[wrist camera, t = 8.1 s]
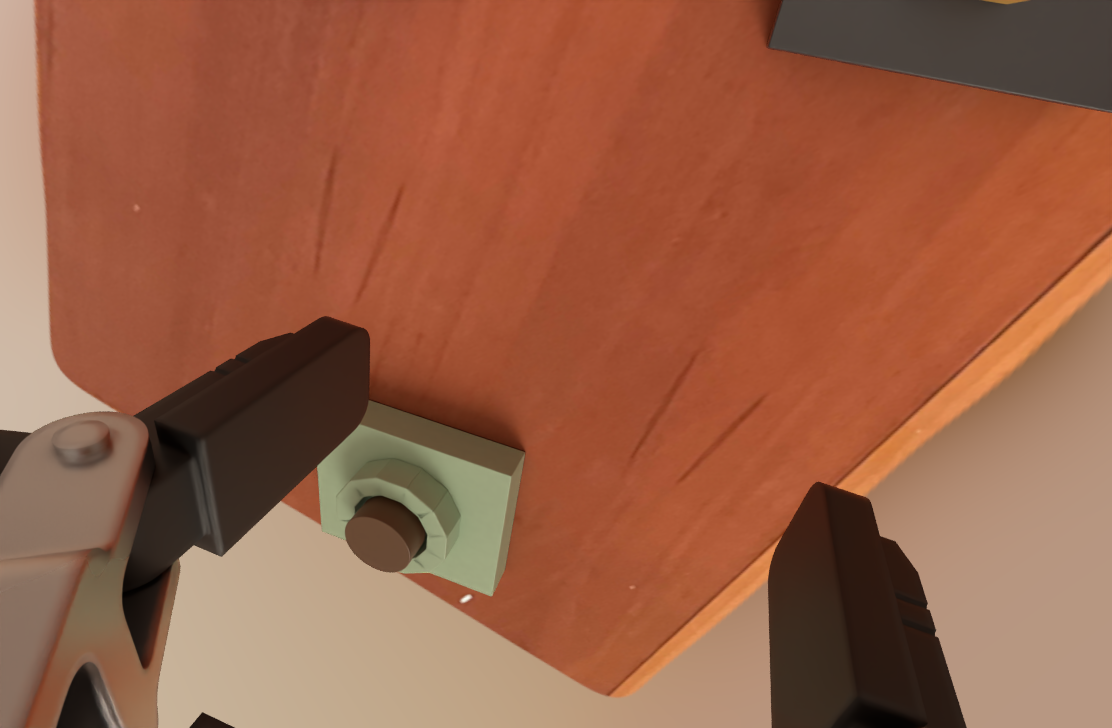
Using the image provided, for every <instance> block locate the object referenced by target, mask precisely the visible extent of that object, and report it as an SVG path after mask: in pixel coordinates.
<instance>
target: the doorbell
mask: <svg viewBox="0 0 1112 728" xmlns="http://www.w3.org/2000/svg"><path fill="white" fill-rule="evenodd" d="M524 458H525V452H523V451H520V450H517V449H514V448H511V447H508V446H505V445H502V444H499V443H496V442H493V441H490V440H487V439H484V438H481V437H478V436H475V435H472V434H469V433H466V432H463V431H460V430H457V429H454V428H451V427H448V426H445V425H442V424H439V423H436V422H433V421H430V420H427V419H424V418H422V417H419V416H416V415H413V414H410V413H407V412H404V411H401V410H398V409H395V408H392V407H389V406H386V405H383V404H380V403H377V402H374V401H371V400H369V402H368V406H367V410H366V413H365V415H364V417H363V419H362V421H361V423H360V424H359V426H358V427H357V428H356V429H355V430H354V431H353V432H352V433H351V434H350V435H349V436H348V437H347V438H346V439H345V440H344V441H343V442H342V443H341V444H340V445H339V446H338V447H337V448H336V449H334V450H333V451H332V452H331V453H330V454H329V455H328V456H327V457H326V458H325V459H324V460H323V461H322V462H321V463H320V464H319V465H318V466H317V469H318V483H319V497H320V511H321V526H322V531H323V532H326V533H328V534H331V535H333V536H336V537H338V538H341V539H343V540H346V537H345V527H346V525H347V523H348V522H349V520H350V519H351V518H352V517H353V516H354V515H355V514H356V512H357V511H358V510H359V509H360V508H361V507H362V505H363V504H364V503H365V502H366V501H367V500H368V499H370V498H372V497H374V496H384V497H387V498H390V499H392V500H395V501H398V502H401V503H402V504H403V505H405V506H406V507H407V508H408V509H409V510H410V511H412V512H413V513H414V514H415V515H416V516H418V518H419V520H420V521H421V523H422V525H423V527H424V529H425V540H424V542H423V544H422V545H421V547H420V548H419V550H418V551H417V553H416V554H415V556H414V557H413V559H412V560H411V562H410V563H409V565H408V566H407V567H406V568H405V569H403V570H401V571H399V572H401V573H432V574H434V575H437V576H440V577H442V578H445V579H447V580H450V581H453V582H455V583H458V584H460V585H463V586H466V587H468V588H471V589H473V590H476V591H478V592H481V593H484V594H486V595H489V596H492V595H493V593H494V591H495V589H496V587H497V585H498V583H499V581H500V579H501V577H502V575H503V573H504V571H505V566H506V560H507V554H508V549H509V543H510V537H511V532H512V526H513V520H514V514H515V509H516V503H517V497H518V492H519V486H520V480H521V475H522V469H523V463H524Z"/></svg>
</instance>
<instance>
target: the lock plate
mask: <svg viewBox="0 0 1112 728" xmlns="http://www.w3.org/2000/svg"><path fill="white" fill-rule="evenodd" d="M767 48H768V49H773V50H779V51H784V52H789V53H795V54H800V55H805V56H810V57H816V58H821V59H826V60H831V61H837V62H842V63H847V64H852V65H858V66H863V67H868V68H874V69H879V70H884V71H889V72H895V73H900V74H905V75H910V76H916V77H921V78H926V79H931V80H937V81H942V82H947V83H953V84H958V85H963V86H968V87H974V88H979V89H984V90H989V91H995V92H1000V93H1005V94H1010V95H1016V96H1021V97H1026V98H1032V99H1037V100H1042V101H1047V102H1053V103H1058V104H1063V105H1068V106H1074V107H1079V108H1085V109H1091V110H1097V111H1102V112H1108V113H1112V0H1028V1H1022V2H1017V3H1012V4H1001V3H995V2H989V1H983V0H781V1H780V5H779V8H778V11H777V14H776V17H775V21H774V24H773V27H772V30H771V34H770V37H769V40H768V43H767Z"/></svg>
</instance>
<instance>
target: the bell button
mask: <svg viewBox="0 0 1112 728" xmlns="http://www.w3.org/2000/svg"><path fill="white" fill-rule="evenodd" d="M345 537H346V541H347V543H348V545H349V547H350V548H351V550H352V551H353V552H354V554H356V556H357V557H358V558H360V559H361V560H362V561H363V562H364V563H366V564H368V565H369V566H371V567H373V568H375V569H377V570H380V571H384V572H399V571H401V570H403V569H405V568H406V567H407V566H408V565H409V563H410V562H411V560H412V559H413V557H414V556H415V554H416V553H417V551H418V550H419V548H420V547H421V545H422V544H423V542H424V540H425V529H424V527H423V525H422V523H421V521H420V520H419V518H418V516H416V515H415V514H414V513H413V512H412V511H410V510H409V509H408V508H407V507H406V506H405V505H403V504H402V503H401V502H398V501H395V500H392V499H390V498H387V497H384V496H374V497H372V498H370V499H368V500H367V501H366V502H365V503H364V504H363V505H362V507H361V508H360V509H359V510H358V511H357V512H356V514H355V515H354V516H353V517H352V518H351V519H350V520H349V522H348V523H347V525H346V527H345Z"/></svg>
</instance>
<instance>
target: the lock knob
mask: <svg viewBox="0 0 1112 728" xmlns="http://www.w3.org/2000/svg"><path fill="white" fill-rule="evenodd" d="M983 1H989V2H995V3H1001V4H1012V3H1017V2H1022V1H1028V0H983Z"/></svg>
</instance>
